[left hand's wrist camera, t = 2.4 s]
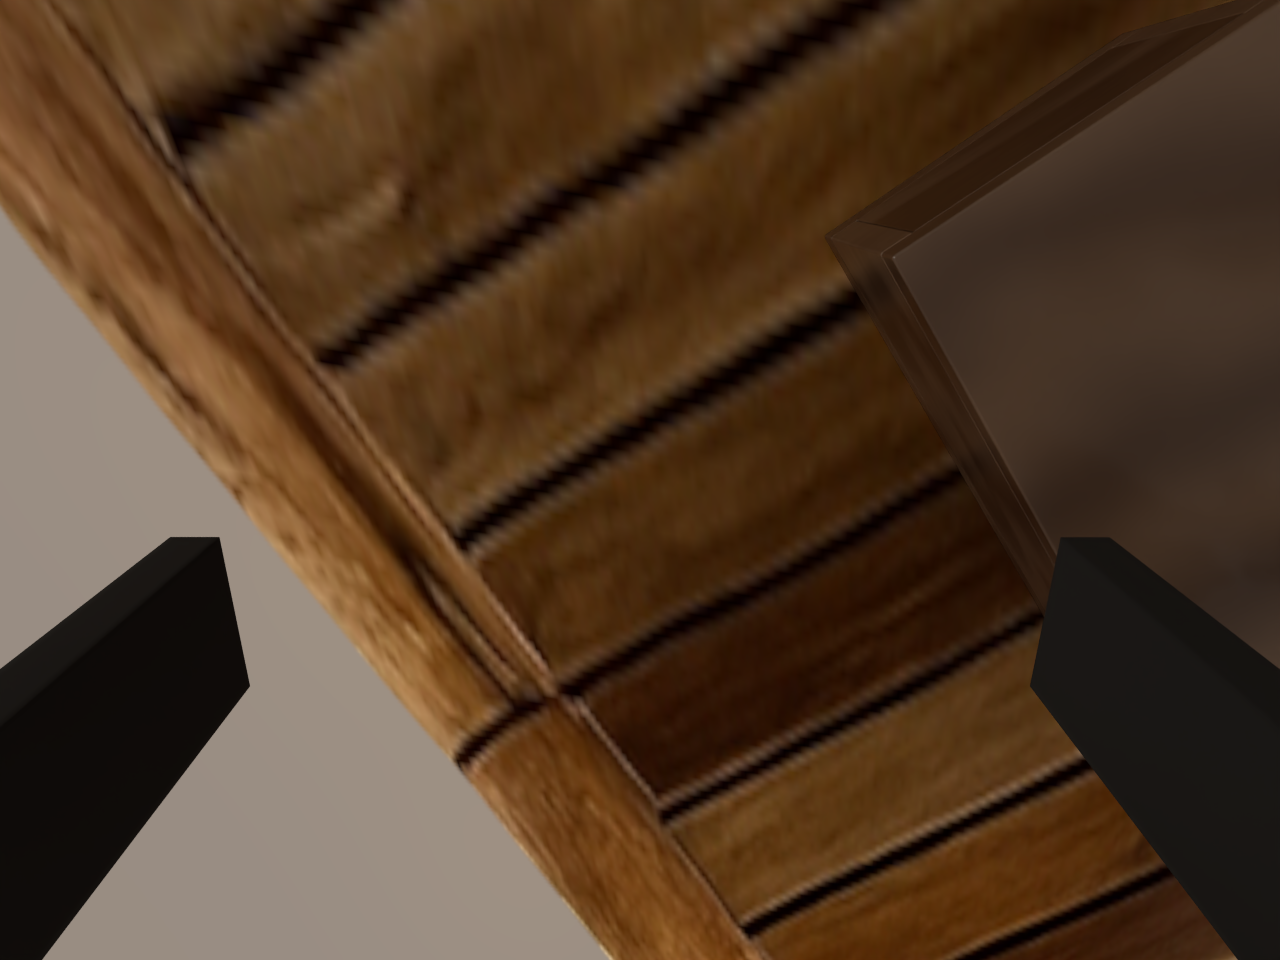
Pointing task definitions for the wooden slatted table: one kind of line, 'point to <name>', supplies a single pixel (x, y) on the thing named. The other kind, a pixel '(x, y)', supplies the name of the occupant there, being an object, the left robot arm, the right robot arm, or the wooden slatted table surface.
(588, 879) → the wooden slatted table surface
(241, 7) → the wooden slatted table surface
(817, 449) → the wooden slatted table surface
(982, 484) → the cabinet
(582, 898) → the wooden slatted table surface
